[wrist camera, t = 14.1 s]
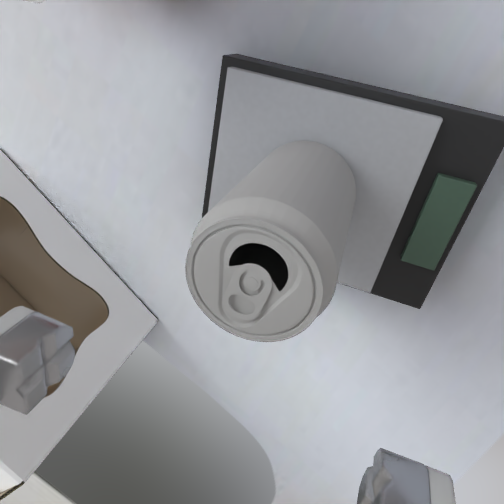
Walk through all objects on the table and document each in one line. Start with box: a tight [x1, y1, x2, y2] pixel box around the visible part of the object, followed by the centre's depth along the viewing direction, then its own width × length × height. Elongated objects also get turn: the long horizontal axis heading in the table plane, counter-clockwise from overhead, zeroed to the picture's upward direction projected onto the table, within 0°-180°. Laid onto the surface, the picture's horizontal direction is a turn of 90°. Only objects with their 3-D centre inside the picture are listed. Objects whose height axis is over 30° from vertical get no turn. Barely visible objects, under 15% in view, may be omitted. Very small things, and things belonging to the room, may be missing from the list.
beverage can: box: [185, 141, 356, 342], centre depth 20 cm, size 6×6×12 cm
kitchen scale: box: [202, 54, 504, 309], centre depth 27 cm, size 17×13×3 cm
